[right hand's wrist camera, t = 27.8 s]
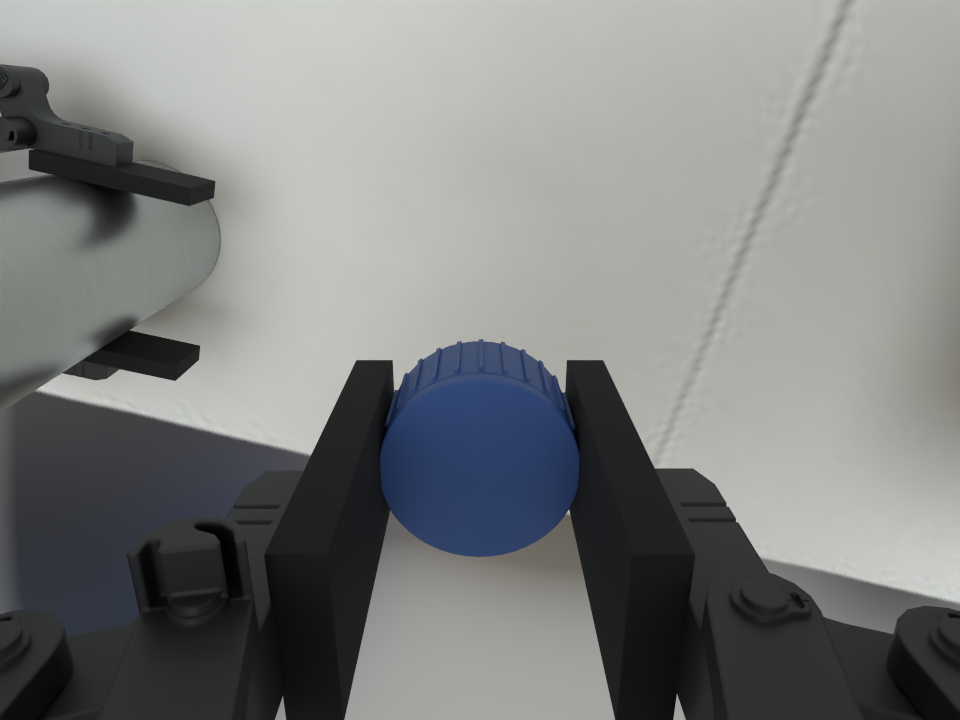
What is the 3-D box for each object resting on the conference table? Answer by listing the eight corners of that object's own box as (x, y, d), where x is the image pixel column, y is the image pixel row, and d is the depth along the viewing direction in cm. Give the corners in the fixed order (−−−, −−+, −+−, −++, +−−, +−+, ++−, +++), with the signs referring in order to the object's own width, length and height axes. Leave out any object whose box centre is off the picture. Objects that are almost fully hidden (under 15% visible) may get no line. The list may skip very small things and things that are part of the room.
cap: (446, 527, 15) (442, 589, 13) (353, 390, 14) (334, 436, 12) (600, 453, 15) (618, 508, 13) (516, 304, 14) (522, 338, 12)
